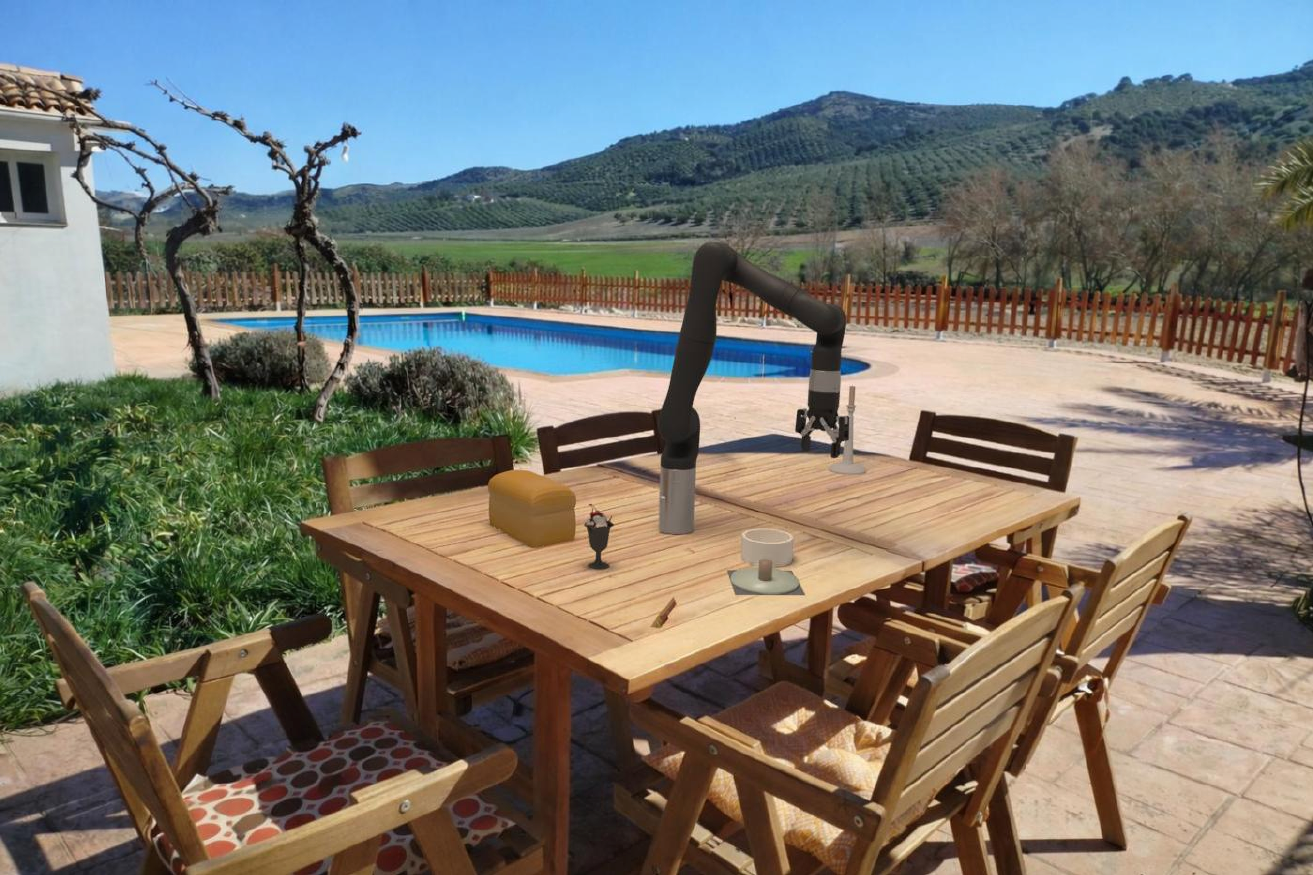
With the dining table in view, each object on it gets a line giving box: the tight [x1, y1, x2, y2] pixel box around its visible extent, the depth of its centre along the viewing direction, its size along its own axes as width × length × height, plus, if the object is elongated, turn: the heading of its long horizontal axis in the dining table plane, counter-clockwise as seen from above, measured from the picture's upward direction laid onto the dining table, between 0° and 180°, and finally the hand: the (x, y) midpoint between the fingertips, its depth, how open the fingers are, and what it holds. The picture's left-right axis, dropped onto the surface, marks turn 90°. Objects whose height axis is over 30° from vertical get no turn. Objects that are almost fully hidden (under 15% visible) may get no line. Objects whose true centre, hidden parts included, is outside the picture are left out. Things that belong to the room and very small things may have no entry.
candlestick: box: [828, 385, 867, 476], centre depth 301 cm, size 13×13×30 cm
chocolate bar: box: [650, 596, 678, 629], centre depth 174 cm, size 3×12×2 cm, turn 163°
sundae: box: [583, 503, 615, 571], centre depth 201 cm, size 7×7×15 cm
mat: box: [726, 569, 806, 596], centre depth 193 cm, size 15×15×1 cm
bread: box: [487, 469, 577, 549], centre depth 225 cm, size 24×13×15 cm, turn 37°
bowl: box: [740, 527, 795, 568], centre depth 208 cm, size 12×12×6 cm
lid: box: [730, 559, 800, 596], centre depth 192 cm, size 15×15×5 cm
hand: (820, 454), depth 212 cm, fingers open, 8 cm apart
